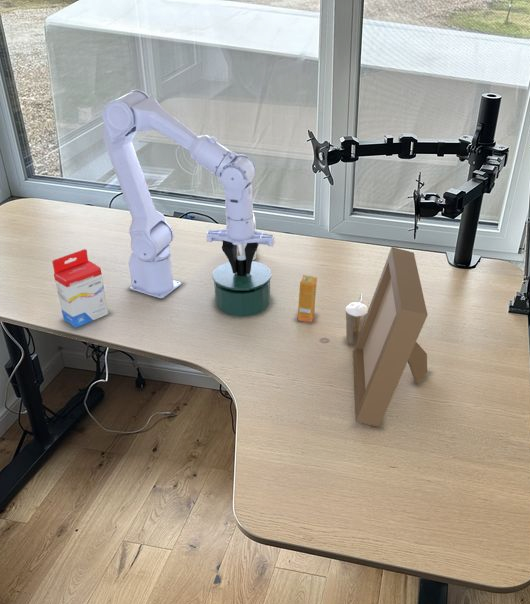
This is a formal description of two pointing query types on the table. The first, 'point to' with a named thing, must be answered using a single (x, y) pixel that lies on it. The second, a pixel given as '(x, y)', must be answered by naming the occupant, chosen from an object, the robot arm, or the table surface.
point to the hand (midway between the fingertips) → (241, 271)
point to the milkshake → (355, 320)
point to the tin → (242, 301)
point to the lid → (241, 275)
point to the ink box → (79, 289)
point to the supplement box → (307, 298)
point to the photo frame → (389, 337)
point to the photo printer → (242, 247)
